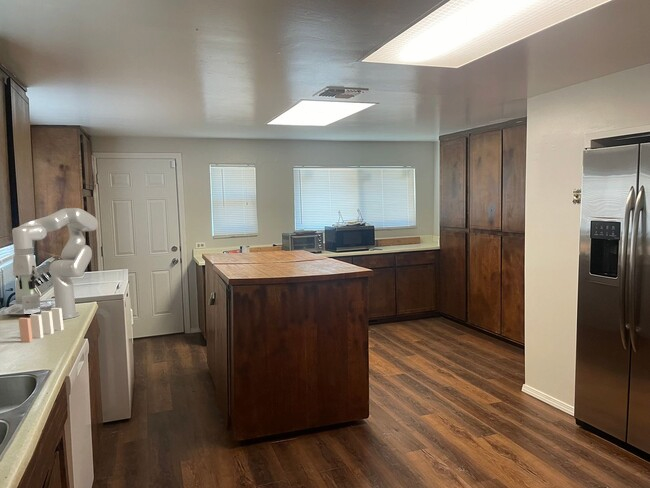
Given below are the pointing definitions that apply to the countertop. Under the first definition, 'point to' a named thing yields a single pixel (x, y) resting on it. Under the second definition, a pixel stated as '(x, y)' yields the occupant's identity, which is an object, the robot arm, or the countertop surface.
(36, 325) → the domino
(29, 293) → the domino
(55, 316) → the domino
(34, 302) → the small box
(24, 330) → the domino
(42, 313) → the domino
